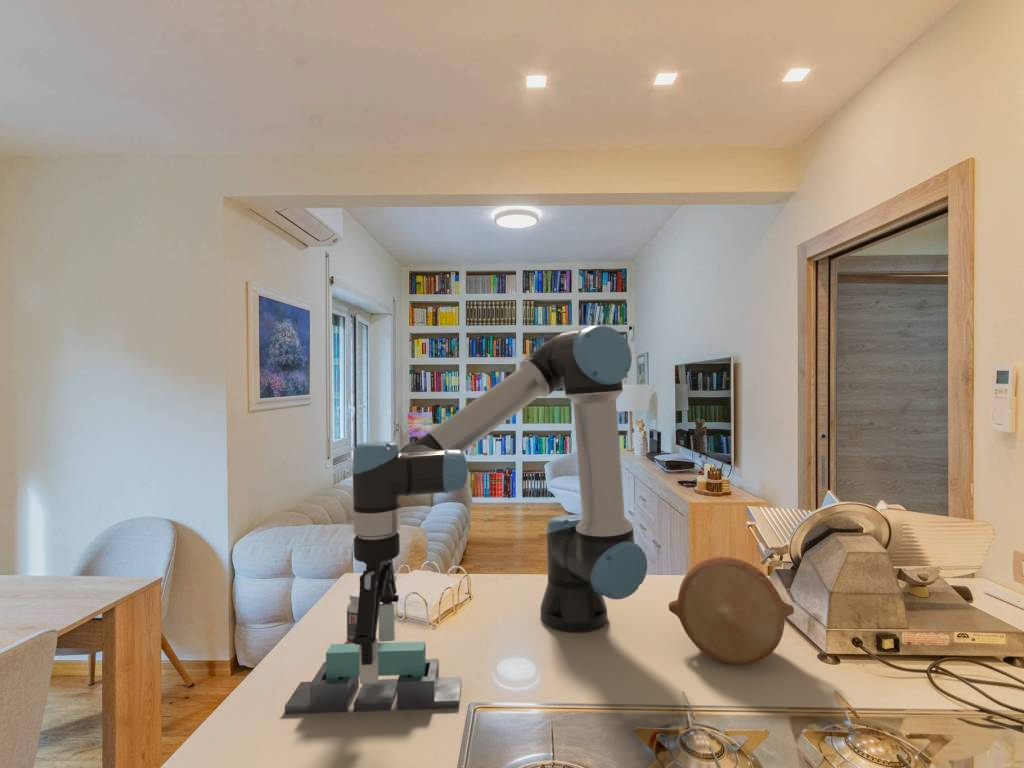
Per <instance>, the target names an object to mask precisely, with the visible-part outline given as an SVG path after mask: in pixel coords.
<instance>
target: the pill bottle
mask: <svg viewBox="0 0 1024 768" xmlns="http://www.w3.org/2000/svg"><path fill="white" fill-rule="evenodd" d="M367 590H369V589H367ZM359 593H360V588H359V589H358V588H357V589H354V590H352V591H350V593H349V601H350V602H349V604H348V605H347V607H346V641H347V644H355V643H353V638H355V635H356V624H357V614H358V604H359Z"/></svg>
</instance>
